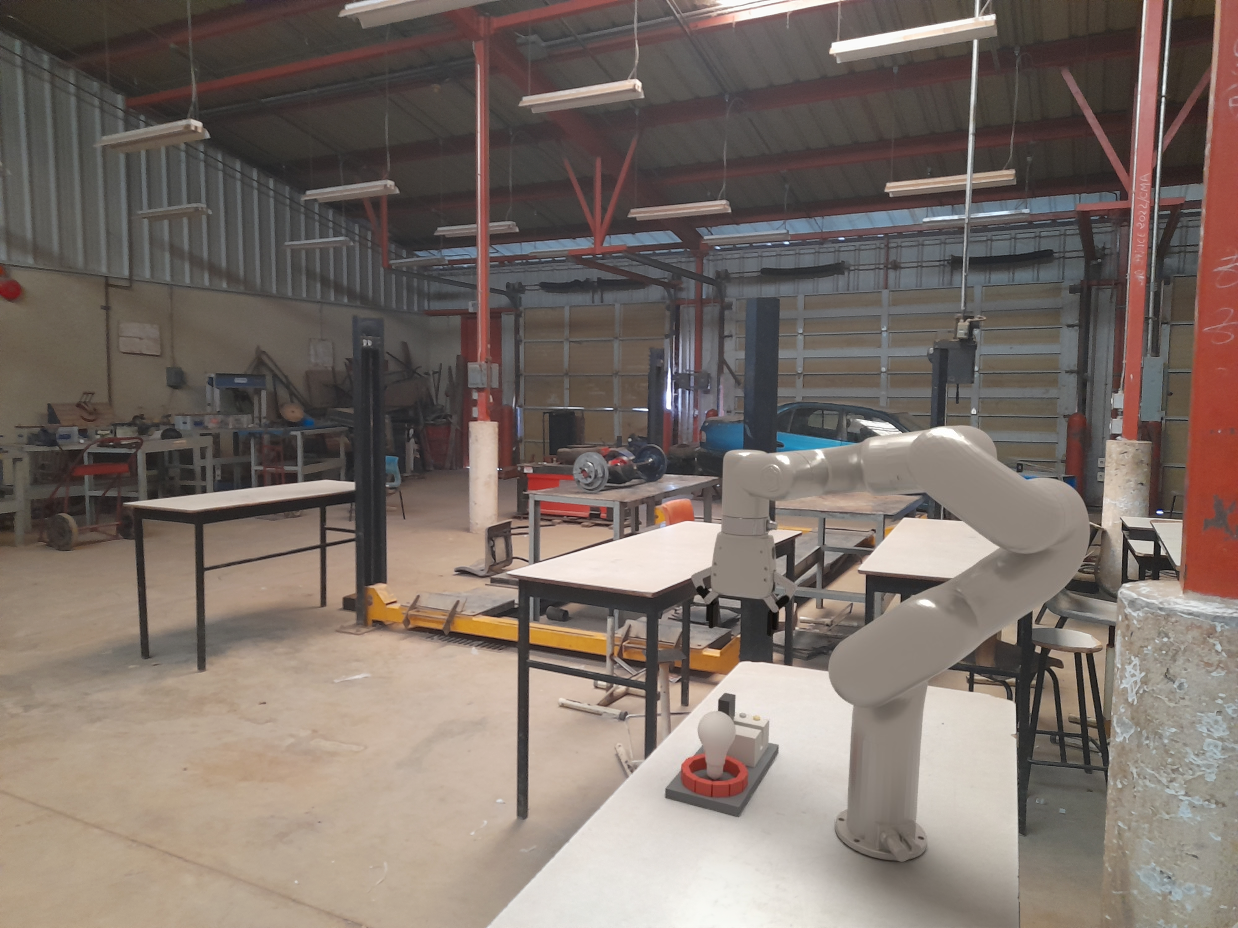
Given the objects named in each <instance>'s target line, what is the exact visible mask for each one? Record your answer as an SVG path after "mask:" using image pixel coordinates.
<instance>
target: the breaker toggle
mask: <svg viewBox="0 0 1238 928" xmlns="http://www.w3.org/2000/svg"><path fill="white" fill-rule="evenodd" d="M736 698H737V695H736V694H734V693H733V694H732V693H728V692H724V693H723V694H722V695H721V696H720V697H719V698H718V699H717V701H718V702H717V711H720V712H723V713H725V714H727V715H728V716H729V717H730V718H731V719H733V718H734V717H735V712H736Z"/></svg>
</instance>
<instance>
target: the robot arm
mask: <svg viewBox="0 0 1238 928" xmlns="http://www.w3.org/2000/svg"><path fill="white" fill-rule="evenodd" d="M997 453H998V452H997V447H996V445H995V443H994V440H993V439H992V438H991V437H990V435H988V434H987V433H986V432H985V431H983V430H982V429H979V428H977V427H975V426H973V425H972V426H971V425H943V426H941V425H940V426H937V427H932V428H929V429H924V430H923V429H922V430H914V431H910V432H908V431H907V432H903V433H893V434H885V435H876V436H871V437H867V438H865V439H864V440H863V441H861V442H857V443H853V444H848V445H847V444H846V445H841V446H840V445H839V446H833V447H825V448H815V449H813V448H812V449H805V450H803V449H802V450H800V449H799V450H790V451H789V450H788V451H780V452H777V451H776V452H769V453H768V452H766V451H763V450H758V449H757V450H756V449H733V450H729V451H727V452H725V454H724V456H723V458H722V459H723V460H722V461H723V462H722V486H721V487H722V489H721V490H722V491H721V493H722V494H721V527H720V531H719V532H717V535H716V539H715V543H714V547H713V554H712V562H711V566H709V567H706V568H704V569H701V570H699V571H698V572H694V573H693V574H691V576H690V578H691V581H692V583H693V585H694V587H695V591H696V592H697V594H698V595H699V596H700V597H701V598H702V599H703V602H704V604H705V621H706V622H708V629H714V628H715V627H716V626H717V625H718V623H719V602H718V600H717V597H718V596H719V595H721V596H722V595H724V596H730V597H737V598H738V597H739V598H747V599H757V600H763V601H764V602H765V604H766V605H767V607H768V608H769V610H768V611H767V618H766V621H767V622H766V635H767V637H772V636H773V635H774V634H775V632H776V631H778V630H779V627H780V625H779V624H780V610H781V609H782V608H783V607H784V606H786V605H787V604H788V603H789V602H790V601H791V599H792V597H793V596H794V594H795V592H796V591H797V589H798V585H797V583H795V582H793V581H792V580H790V579H789V578H788V577H786V576H783V575H782V574H781V573H779V572H777V555H776V543H775V539H774V535H772V534H769V533H770V532H771V531H774V530H775V531H777V530H778V523H779V522H778V521H773V520H771V517H770V501H771V502H772V501H773V502H789V501H794V500H799V499H807V498H812V497H813V498H814V497H820V496H830V495H840V494H842V495H843V494H854V493H866V494H870V495H871V496H874V497H886V496H896V495H897V496H898V495H907V494H908V495H909V494H922V493H925V494H927V495H928V496H929V497H930V498H932V499H933V500H934V501H936V503H938V504H939V505H941V506H942V507H943V508H945V509H946V510H947V511H948V512H950V513H951V514H953V515H954V516H955V517H956V518H958V519H959V520H961V521H962V523H965V524H966V525H967V526H968V527H970V528H971V529H973V530H974V531H975V532H977V533H978V534H979V535H981V536H982V537H983V538H984V539H986V540H987V541H989V542H991V544H993V545H994V546H997V547H999V548H997V549H995V550H994V551H993V552H991V553H989V554H987V555H986V556H984V557H983V558H981V559H980V560H978V561H977V562H976V563H974V564H973V565H972V566H970V567H969V568H967V569H965V570H964V571H961V573H959V574H957V575H956V576H954V577H952V578H951V579H948V581H945V582H943V583H941V584H939V585H937V586H936V585H935V586H933V587H930V588H928V589H926V590H924V591H921V592H919V593H917V594H914V595H912V596H911V597H909V598H907V599H905V600H903V601H902V602H900V603H898V604H896V605H895V606H893V607H892V608H890V609H889V610H887V611H886V612H884V613H883V614H881V615H879V616H878V617H877V618H875V619H874V620H872V621H871V622H869V623H867V624H866V625H865V626H863V627H861V628H860V629H858V630H857V631H856V632H854V633H852V634H850V635H849V636H848V637H846V638H845V639H843V640H842V641H840V642H839V643H838V644H837V645H836V646H835V648H834V649H833V650H832V653H831V654H830V657H829V661H828V669H827V672H828V673H827V674H828V679H829V682H830V685H831V686H832V688H833V690H834V692H835V693H836V694H837V696H838V697H840V698H841V699H842V700H844V701H845V702H847V703H848V704H850V705H852V714H851V727H850V728H851V729H850V742H849V743H850V744H849V745H850V746H849V747H850V748H849V762H848V763H849V764H848V786H847V787H848V788H847V800H846V801H847V805H846V806H847V807H846V809H844V810H842V811H841V812H839V814H838V815H837V816H836V818H835V822H834V823H835V824H834V825H835V827H834V828H835V832H836V834H837V836H838V838H839V839H840V840H841V842H843V843H844V844H845V845H847V846H848V847H849V848H851V849H852V850H853V851H856V852H858V853H860V854H862V855H865V856H869V857H871V858H874V859H875V858H876V859H879V860H886V861H898V862H902V863H903V862H906V861H907V860H912V859H915V858H917V857H919V856H921V855H922V854H923V853H924V852H925V850H926V849H927V845H928V843H927V842H928V838H927V837H928V836H927V834H926V832H925V830H924V829H923V827H922V826H921V825H919V823H918V822H917V816H918V815H917V813H918V797H919V795H918V794H919V778H920V762H921V761H920V760H921V749H922V748H921V747H922V746H921V745H922V736H923V735H922V734H923V720H924V711H925V709H924V708H925V702H926V696H927V692H928V687H929V686H928V685H929V680H931V679H932V678H934V677H936V676H938V675H940V674H942V673H943V672H945V671H946V670H948V669H949V668H951V667H953V666H954V665H956V664H957V663H960V662H961V660H963V659H964V658H966V657H967V656H969V655H970V654H971V653H972V652H974V651H975V650H976V649H977V648H978V647H980V645H981V644H983V642H985V641H986V640H988V639H989V638H991V637H992V636H994V635H995V634H997V633H999V632H1000V631H1002V630H1004V629H1006V627H1009V626H1010V625H1012V624H1015V623H1016V622H1017V621H1018V620H1020V619H1022V618H1023V617H1025V616H1026V615H1028V614H1030V613H1031V612H1032V611H1034V610H1036V609H1037V608H1039V607H1041V606H1042V605H1043V604H1046V602H1047V601H1049V600H1051V599H1052V598H1054V597H1055V596H1056V595H1057V594H1059V593H1060V591H1062V590H1063V589H1064V588H1065V587H1066V586H1067V585H1068V584H1069V583H1070V582H1071V581H1072V579H1073V578H1074V577H1075V575H1076V574H1077V573H1078V570H1079V569H1080V568H1081V566H1082V564H1083V561H1084V560H1085V557H1086V555H1087V553H1088V552H1087V551H1088V548H1089V544H1090V539H1091V538H1090V537H1091V535H1090V533H1091V529H1090V527H1091V525H1090V518H1089V514H1088V510H1087V507H1086V504H1085V502H1084V499H1083V498H1082V497H1081V495H1080V494H1079V493H1078V491H1077V490H1076V489H1075V488H1074V487H1072V486H1071V485H1070V484H1068V483H1066V482H1064V481H1063V480H1059V479H1057V478H1051V477H1036V478H1035V477H1034V478H1029V479H1026V478H1025V477H1023V476H1022V475H1020V474H1019V473H1018V472H1017V471H1014V470H1013V469H1011V468H1010V467H1008V465H1005V464H1004V463H1002V462H1001V461H999V460H998V454H997ZM709 576H710V588H711V590H710V589H709V588H708V587H707V586H706V585H705V584H704V581H703V579H705V578H707V577H709ZM777 585H779V586H781V587H782V588H784V590H785V592H784V593H783V595H782V596H781V597H779V598H778V597H777V595H776V594H775V592H776V589H777Z"/></svg>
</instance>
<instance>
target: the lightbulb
mask: <svg viewBox="0 0 1238 928" xmlns="http://www.w3.org/2000/svg"><path fill="white" fill-rule="evenodd" d="M697 735H698V739H699V742H700V743H701V746H702V745H703V747H704V751H705V760H706V763H707V775H708V776H709V777H711V778H712V779H718V778H720V777H721V776H722V774H723V765H724V764H725V758H726V754H727V751H728V749H729V748H730V746H731V745H732V743H733V741H734V739H735V735H736V729H735V725H734V722H733V721H732V719H731V718H730V717H729V716H728V715H727V714H725V713H723V712H720V711H718V710H712V711H709V712H706V713H705V714H704V715H703V716H702V717H701V719H700V720H699V722H698V725H697Z"/></svg>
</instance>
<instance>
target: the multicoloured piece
mask: <svg viewBox="0 0 1238 928" xmlns="http://www.w3.org/2000/svg"><path fill="white" fill-rule="evenodd" d="M732 721H733V722H734V725H735V729H736V735H735V739H734V741H733V743H732V745H731V746H730V748H729V749H728V751H727V754H726V758H725V764H724V765H723V774H722V776H721V777H720V778H718V779H712V778H711V777H709V776H708V775H707V763H706V760H705V751H704V747H703V745H702V744H701V746H700V747H699V748H698V750H697V751H696V752H695V753H694V754H693V755H692V756H689V757H687V758H686V759H685V760H684V761H683V762H682V764H681V766H680V771H679V772H678V773H677V774H676V775H675V777H674V778H673V779H672V780H671V781H670V782H669V784H667V786H666V787H665V789H664V791H665V793H664V798H666V799H670V800H673V801H677V802H681V803H686V804H689V805H692V806H697V807H701V808H703V809H708V810H710V811H711V810H712V811H715V812H719V813H723V814H727V815H731V816H733V817H734V816H735V817H739V816H740V815H741V813H742V812H743V811H744V809H745V807H746V806H747V804H748V802H749V801H750V799H751V798H752V796H753V794H754V793H755V791H756V790H757V788H758V786H759V785H760V784H761V782H762V780H763V778H764V777H765V775H766V774H767V772H768V770H769V769H770V767H771V766H772V764H773V762H774V761H775V759H776V757H777V756H778V754H779V751H780V750H779V748H780V744H777V743H772V742H769V741H770V739H769V738H770V737H769V735H770V718H766V717H761V716H759V715H751V714H747V713H744V712H737V711H735V717H734V718H733V719H732Z"/></svg>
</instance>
